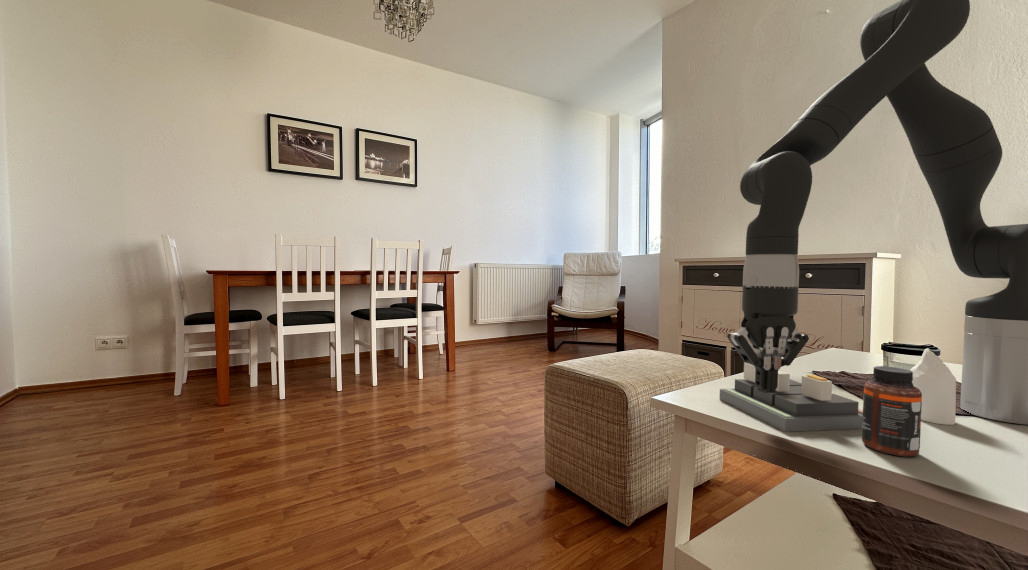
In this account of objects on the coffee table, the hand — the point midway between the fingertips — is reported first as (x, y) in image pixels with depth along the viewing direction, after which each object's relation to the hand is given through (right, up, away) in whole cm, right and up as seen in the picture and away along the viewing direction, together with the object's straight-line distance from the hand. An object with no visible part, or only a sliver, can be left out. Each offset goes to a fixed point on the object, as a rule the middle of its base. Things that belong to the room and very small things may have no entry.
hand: (765, 391), depth 65 cm
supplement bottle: (+12, -6, -8) cm, 16 cm away
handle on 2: (+5, -1, +6) cm, 8 cm away
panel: (+8, -5, +6) cm, 12 cm away
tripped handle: (+9, -1, +1) cm, 9 cm away
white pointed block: (+31, -6, +4) cm, 32 cm away
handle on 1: (+5, -1, +11) cm, 12 cm away
